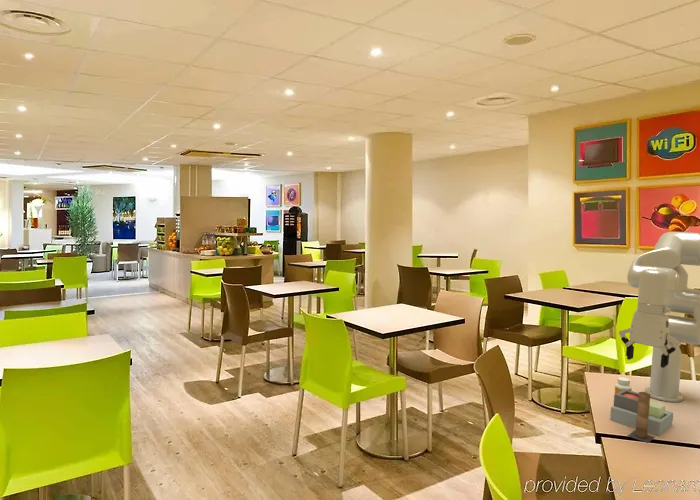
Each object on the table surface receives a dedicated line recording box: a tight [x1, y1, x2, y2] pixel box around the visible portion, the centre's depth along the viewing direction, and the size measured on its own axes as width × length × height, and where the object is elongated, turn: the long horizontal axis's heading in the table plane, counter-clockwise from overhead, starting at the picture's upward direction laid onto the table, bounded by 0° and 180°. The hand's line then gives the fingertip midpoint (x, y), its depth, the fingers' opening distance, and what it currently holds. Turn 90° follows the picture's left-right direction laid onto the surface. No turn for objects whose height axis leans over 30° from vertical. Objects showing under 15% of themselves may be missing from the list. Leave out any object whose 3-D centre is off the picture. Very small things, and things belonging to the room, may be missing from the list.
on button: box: [649, 400, 666, 419], centre depth 168 cm, size 5×5×5 cm
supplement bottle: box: [614, 376, 632, 394], centre depth 188 cm, size 5×5×10 cm
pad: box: [627, 429, 655, 444], centre depth 161 cm, size 6×6×1 cm
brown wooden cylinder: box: [635, 391, 651, 439], centre depth 161 cm, size 3×3×14 cm
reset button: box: [624, 394, 638, 399], centre depth 174 cm, size 4×4×5 cm
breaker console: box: [609, 389, 674, 437], centre depth 171 cm, size 12×15×9 cm
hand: (646, 362), depth 160 cm, fingers open, 9 cm apart
